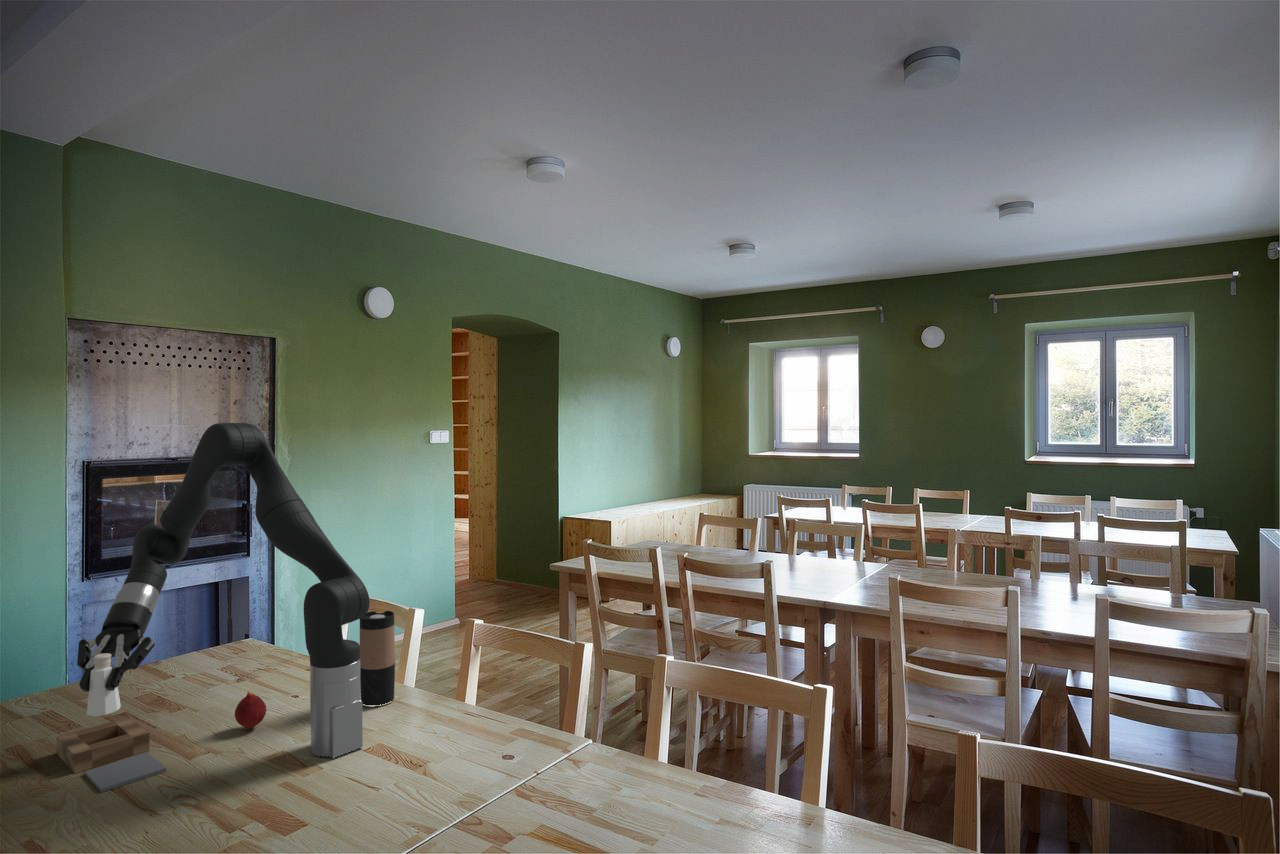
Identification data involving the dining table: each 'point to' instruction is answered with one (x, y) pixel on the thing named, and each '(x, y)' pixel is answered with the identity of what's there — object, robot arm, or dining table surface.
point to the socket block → (102, 744)
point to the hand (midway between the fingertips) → (97, 689)
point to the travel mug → (377, 658)
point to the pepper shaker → (102, 688)
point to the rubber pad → (124, 772)
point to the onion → (250, 711)
